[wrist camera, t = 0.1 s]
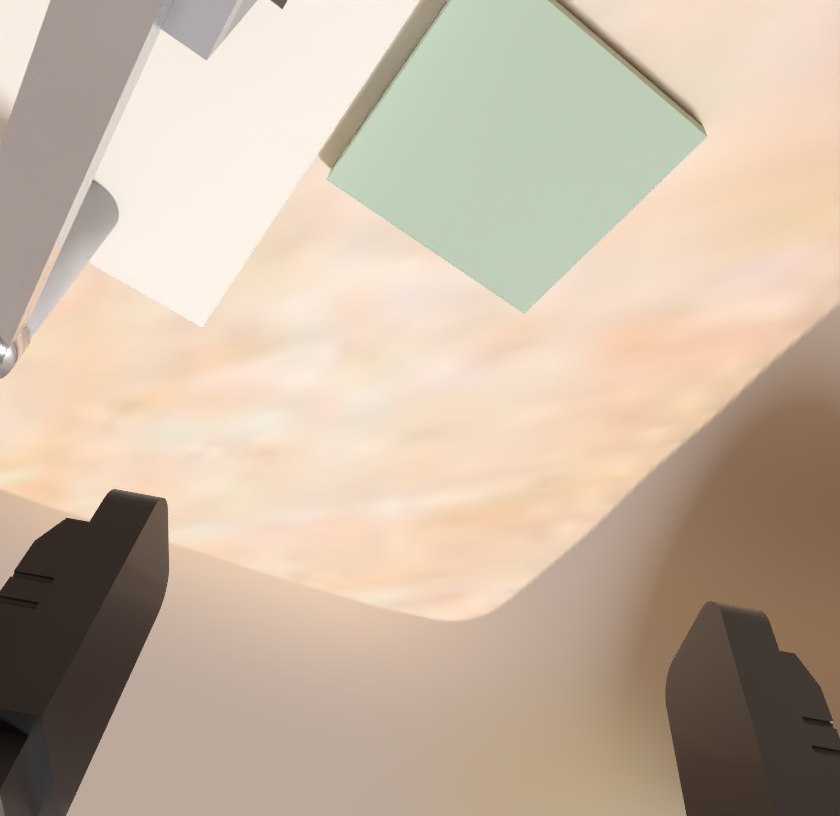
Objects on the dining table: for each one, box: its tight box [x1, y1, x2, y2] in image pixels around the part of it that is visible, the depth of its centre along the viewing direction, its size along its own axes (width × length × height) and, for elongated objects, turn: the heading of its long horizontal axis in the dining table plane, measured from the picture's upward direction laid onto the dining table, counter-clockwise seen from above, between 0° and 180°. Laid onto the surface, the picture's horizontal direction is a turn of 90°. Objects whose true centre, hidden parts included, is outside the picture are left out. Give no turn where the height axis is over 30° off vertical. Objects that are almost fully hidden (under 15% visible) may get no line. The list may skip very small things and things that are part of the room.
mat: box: [327, 0, 707, 313], centre depth 30 cm, size 10×10×1 cm
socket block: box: [0, 0, 420, 338], centre depth 24 cm, size 21×12×10 cm, turn 144°
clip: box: [0, 0, 174, 379], centre depth 21 cm, size 16×3×1 cm, turn 144°
